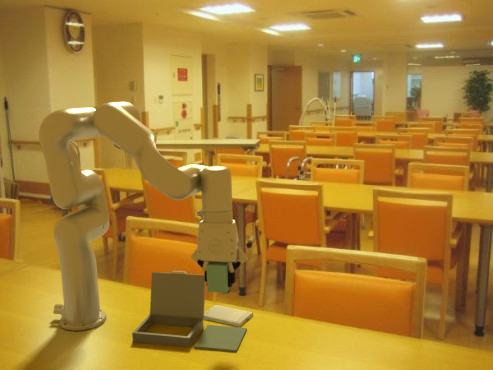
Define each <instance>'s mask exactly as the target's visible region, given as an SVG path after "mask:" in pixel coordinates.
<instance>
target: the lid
mask: <svg viewBox="0 0 493 370" xmlns="http://www.w3.org/2000/svg"><path fill="white" fill-rule="evenodd" d="M150 283H151V285H150V304H149V305H150V308H149V314H159V315H172V316H184V317H197V318H204V313H205V302H206V299H205V298H206V282H205V275H204V274H197V273H196V274H193V273H187V271H184V270H183V271H182V270H171V271H170V272H163V271H162V272H160V271H159V272H158V271H152V272H151V282H150Z"/></svg>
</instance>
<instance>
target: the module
mask: <svg viewBox="0 0 493 370" xmlns="http://www.w3.org/2000/svg"><path fill="white" fill-rule="evenodd" d="M206 267H207V283H206V287H207V292H208V293H223V294H224V293H227V294H228V292H229V290H231V289H230V288H231V287H228V272H229V268H228V264H227V262H209V263H208V264H207V265H206Z"/></svg>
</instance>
